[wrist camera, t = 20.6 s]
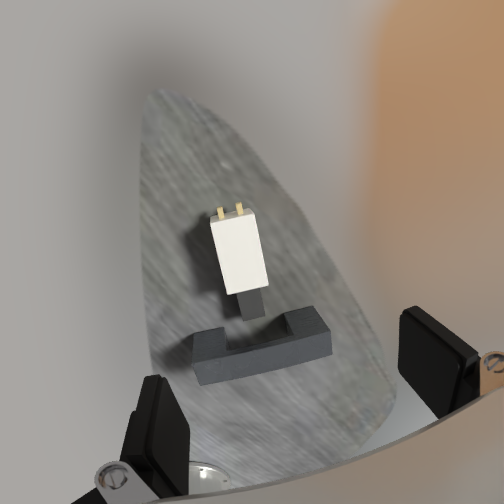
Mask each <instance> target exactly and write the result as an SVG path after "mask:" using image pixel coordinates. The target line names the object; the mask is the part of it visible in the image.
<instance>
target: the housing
mask: <svg viewBox="0 0 504 504" xmlns="http://www.w3.org/2000/svg"><path fill="white" fill-rule="evenodd" d="M284 317H285V322H286V328H287V334H288V337H285V338H281V339H277V340H273V341H269V342H264V343H260V344H256V345H252V346H247V347H243V348H238V349H233V350H230V348H229V344H228V341H227V337H226V333H225V330H224V327H223V328H218V329H213V330H208V331H203V332H198V333H194V340H193V352H192V366H193V369H194V371H195V374H196V376H197V379H198V382H199V384H200V386H202V385H207V384H213V383H218V382H223V381H228V380H233V379H238V378H243V377H247V376H252V375H256V374H261V373H265V372H269V371H273V370H277V369H281V368H285V367H289V366H293V365H297V364H301V363H304V362H308V361H312V360H315V359H319V358H322V357H326V356H329V355H332V343H331V331H330V329H329V328H328V327H327V325H326V324H325V322H324V321H323V319H322V318H321V317H320V315H319V314H318V312H317V311H316V309H315V308H314V306H311V307H307V308H303V309H299V310H295V311H291V312H287V313H284Z"/></svg>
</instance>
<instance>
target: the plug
mask: <svg viewBox="0 0 504 504" xmlns="http://www.w3.org/2000/svg"><path fill="white" fill-rule="evenodd" d="M235 204H236V209H237V211H233V212H229V213H223V209H222V206H220V207H217V211H218V215H215V216H211V218H210V225H211V229H212V234H213V238H214V242H215V246H216V250H217V254H218V259H219V263H220V267H221V271H222V275H223V279H224V283H225V287H226V291H227V295H229V294H234V293H236V294H237V298H238V303H239V307H240V311H241V315H242V319H243V321H246V320H251V319H255V318H259V317H263V316H265V311H264V306H263V302H262V297H261V292H260V288H259V287H264V286H268V285H269V284H268V279H267V274H266V269H265V264H264V259H263V254H262V250H261V245H260V240H259V235H258V230H257V225H256V220H255V215H254V213H253V212H252V210H251V209H250V208H246V209H242V204H241V202H238V203H235Z"/></svg>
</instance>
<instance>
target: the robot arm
mask: <svg viewBox="0 0 504 504" xmlns="http://www.w3.org/2000/svg"><path fill="white" fill-rule="evenodd" d="M398 354H399V355H398V370H399V373H400V374H401V375H402V377H403V378H404V379H405V380H406V381H407V382H408V383H409V385H410V386H411V387H412V388H413V389H414V391H415V392H416V393H417V394H418V395H419V396H420V398H421V399H422V400H423V401H424V402H425V404H426V405H427V406H428V407H429V408H430V409H431V411H432V412H433V413H434V414H435V416H436V417H437V418H438V419H439V420H437V421H435V422H433V423H431V424H429V425H427V426H425V427H423V428H421V429H419V430H417V431H415V432H413V433H411V434H409V435H407V436H405V437H403V438H401V439H398V440H396V441H394V442H391V443H389V444H387V445H384V446H382V447H379V448H377V449H374V450H372V451H369V452H367V453H364V454H362V455H359V456H356V457H354V458H351V459H348V460H345V461H342V462H339V463H336V464H333V465H330V466H327V467H324V468H321V469H317V470H314V471H310V472H307V473H303V474H300V475H296V476H292V477H288V478H284V479H280V480H276V481H271V482H267V483H262V484H257V485H252V486H247V487H241V488H235V489H229V488H230V486H231V482H230V477H229V476H228V474H227V473H226V472H225V471H223V470H221V469H220V468H218V467H215V466H212V465H209V464H204V463H198V462H189V451H190V428H189V424H188V422H187V420H186V418H185V416H184V414H183V412H182V410H181V408H180V406H179V404H178V402H177V400H176V398H175V396H174V394H173V392H172V389H171V387H170V385H169V383H168V381H167V379H166V378H165V377H163V378H162V377H161V376H160V375H159V374H158V375H151V376H146V377H145V378H144V381H143V385H142V388H141V392H140V396H139V400H138V404H137V408H136V411H133V412H132V413H131V415H130V419H129V423H128V427H127V431H126V435H125V439H124V443H123V447H122V451H121V456H120V460H119V461H112V462H109V463H106V464H104V465H103V466H102V467H100V468H99V470H98V471H97V472H96V475H95V485H96V488H94V489H93V490H91V491H90V492H88V493H87V494H85V495H84V496H82V497H81V498H79V499H78V500H76V501H75V502H73V503H71V504H504V353H503V352H499V351H493V352H489V353H486V354H485V355H484V356H482V358H481V357H479V356H478V352H477V351H476V350H474V349H473V348H472V347H471V346H469V345H468V344H467V343H466V342H464V341H463V340H462V339H461V338H459V337H458V336H457V335H455V334H454V333H453V332H451V331H450V330H449V329H448V328H446V327H445V326H444V325H442V324H441V323H439V322H438V321H437V320H435V319H434V318H433V317H432V316H430V315H429V314H428V313H426V312H425V311H424V310H422V309H421V308H420V307H418V306H413V307H410V308H407V309H405V310H404V311H403V312H402V314H401V315H400V322H399V353H398Z"/></svg>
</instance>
